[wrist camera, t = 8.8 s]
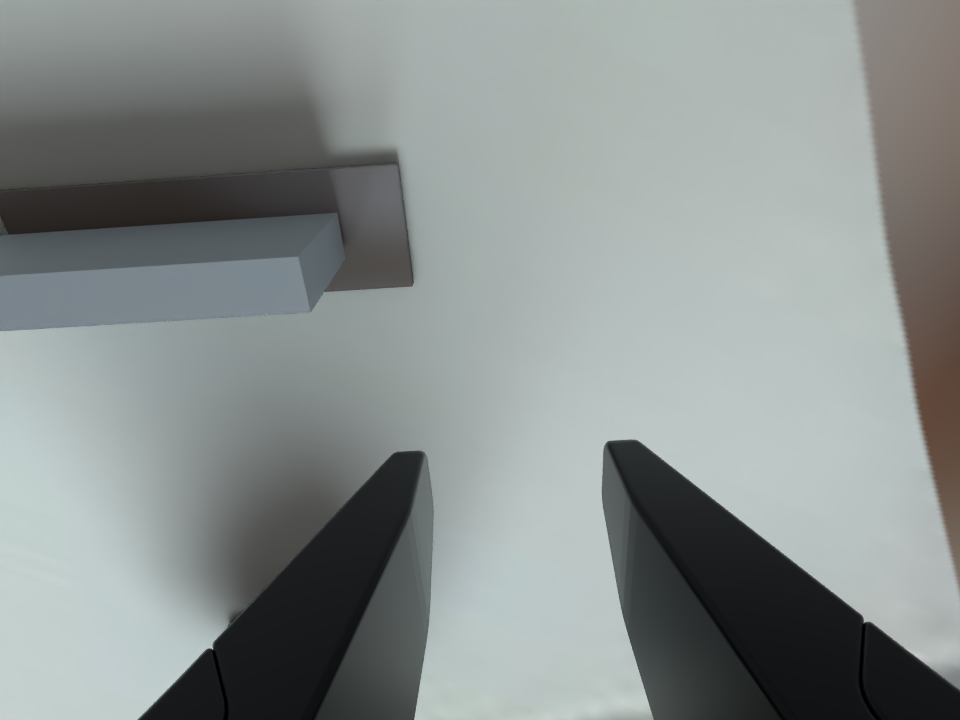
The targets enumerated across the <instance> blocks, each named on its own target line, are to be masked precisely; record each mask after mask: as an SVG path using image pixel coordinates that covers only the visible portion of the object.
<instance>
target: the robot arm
mask: <svg viewBox="0 0 960 720" xmlns="http://www.w3.org/2000/svg"><path fill="white" fill-rule="evenodd" d="M602 502H603V509H604V515H605V520H606V526H607V532H608V537H609V543H610V549H611V554H612V560H613V566H614V572H615V577H616V583H617V589H618V594H619V599H620V604H621V609H622V614H623V618H624V621H625V625H626V629H627V632H628V636H629V639H630V643H631V646H632V649H633V652H634V656H635V659H636V662H637V666H638V669H639V672H640V676H641V679H642V682H643V685H644V689H645V692H646V695H647V699H648V702H649V705H650V709H651V712H652V715H653V718H654V720H960V690H959V689H958V688H957V687H955V686H954V685H953V684H951V683H950V682H949V681H947V680H946V679H945V678H943V677H942V676H941V675H939V674H938V673H937V672H935V671H934V670H933V669H931V668H930V667H929V666H927V665H926V664H925V663H923V662H922V661H921V660H919V659H918V658H917V657H915V656H914V655H913V654H911V653H910V652H909V651H907V650H906V649H905V648H904V647H902V646H901V645H900V644H898V643H897V642H896V641H895V640H893V639H892V638H891V637H889V636H888V635H887V634H886V633H884V632H883V631H882V630H881V629H879V628H878V627H877V626H875V625H874V624H873V623H871V622H865V623H864V619H863V616H862V615H861V614H860V613H858V612H857V611H856V610H854V609H853V608H852V607H851V606H849V605H848V604H847V603H845V602H844V601H843V600H842V599H840V598H839V597H838V596H837V595H835V594H834V593H833V592H831V591H830V590H829V589H828V588H826V587H825V586H824V585H822V584H821V583H820V582H819V581H817V580H816V579H815V578H813V577H812V576H811V575H810V574H808V573H807V572H806V571H805V570H803V569H802V568H801V567H799V566H798V565H797V564H796V563H794V562H793V561H792V560H790V559H789V558H788V557H787V556H785V555H784V554H783V553H781V552H780V551H779V550H778V549H776V548H775V547H774V546H772V545H771V544H770V543H769V542H767V541H766V540H765V539H764V538H762V537H761V536H760V535H758V534H757V533H756V532H755V531H753V530H752V529H751V528H749V527H748V526H747V525H746V524H744V523H743V522H742V521H740V520H739V519H738V518H737V517H735V516H734V515H733V514H731V513H730V512H729V511H728V510H726V509H725V508H724V507H723V506H721V505H720V504H719V503H717V502H716V501H715V500H714V499H712V498H711V497H710V496H708V495H707V494H706V493H705V492H703V491H702V490H701V489H699V488H698V487H697V486H696V485H694V484H693V483H692V482H691V481H689V480H688V479H687V478H685V477H684V476H683V475H682V474H680V473H679V472H678V471H676V470H675V469H674V468H673V467H671V466H670V465H669V464H667V463H666V462H665V461H664V460H662V459H661V458H660V457H658V456H657V455H656V454H655V453H653V452H652V451H651V450H650V449H648V448H647V447H646V446H644V445H643V444H642V443H641V442H639V441H637V440H615V441H608V442H607V443H606V444H605V446H604V452H603V476H602ZM432 542H433V497H432V490H431V482H430V475H429V468H428V461H427V456H426V454H425V453H424V452H423V451H403V452H395V453H394V454H392V455H391V456H390V457H389V458H388V459H387V460H386V461H385V463H384V464H383V465H382V466H381V467H380V468H379V469H378V470H377V471H376V472H375V473H374V474H373V475H372V476H371V477H370V478H369V479H368V480H367V481H366V482H365V484H364V485H363V486H362V487H361V488H360V489H359V490H358V491H357V492H356V493H355V494H354V495H353V496H352V497H351V498H350V499H349V500H348V501H347V502H346V503H345V505H344V506H343V507H342V508H341V509H340V510H339V511H338V512H337V513H336V514H335V515H334V516H333V517H332V518H331V519H330V520H329V521H328V522H327V523H326V525H325V526H324V527H323V528H322V529H321V530H320V531H319V532H318V533H317V534H316V535H315V536H314V537H313V538H312V539H311V540H310V541H309V542H308V543H307V544H306V546H305V547H304V548H303V549H302V550H301V551H300V552H299V553H298V554H297V555H296V556H295V557H294V558H293V559H292V560H291V561H290V562H289V563H288V564H287V565H286V567H285V568H284V569H283V570H282V571H281V572H280V573H279V574H278V575H277V576H276V577H275V578H274V579H273V580H272V581H271V582H270V583H269V584H268V585H267V586H266V588H265V589H264V590H263V591H262V592H261V593H260V594H259V595H258V596H257V597H256V598H255V599H254V600H253V601H252V602H251V603H250V604H249V605H248V606H247V608H246V609H245V610H244V611H243V612H242V613H241V614H240V615H239V616H238V617H237V618H236V619H235V620H234V621H233V622H232V623H231V624H229V625H228V627H227V629H226V630H225V631H224V632H223V633H222V634H221V635H220V636H219V637H218V638H217V639H216V640H215V641H214V642H213V649H206V650H205V651H204V652H203V653H202V654H201V655H200V656H199V658H198V659H197V660H196V661H195V662H194V663H193V664H192V665H191V666H190V667H189V668H188V669H187V670H186V671H185V672H184V673H183V674H182V675H181V676H180V677H179V679H178V680H177V681H176V682H175V683H174V684H173V685H172V686H171V687H170V688H169V689H168V690H167V691H166V692H165V693H164V694H163V695H162V696H161V697H160V698H159V699H158V700H157V701H156V702H155V703H154V704H153V705H152V706H151V707H150V708H149V709H148V710H147V711H146V712H145V713H144V714H143V715H142V716H141V717H140V718H139V719H138V720H414V717H415V711H416V704H417V698H418V692H419V685H420V679H421V673H422V667H423V660H424V654H425V648H426V641H427V633H428V626H429V614H430V596H431V569H432ZM213 650H214V651H213Z"/></svg>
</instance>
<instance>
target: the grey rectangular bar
mask: <svg viewBox="0 0 960 720" xmlns="http://www.w3.org/2000/svg"><path fill="white" fill-rule="evenodd" d="M325 213H337V214H338V219H339V225H340V230H341V236H342V241H343V247H344V252H345V258H346V259H345V260H344V262H343V263H342V265H341V266H340V268H339V269H338V271H337V273H336V274H335V276H334V277H333V279H332V280H331V282H330V283H329V285H328V286H327V288H326V289H325V291H324V292H329V291H345V290H361V289H377V288H393V287H409V286H413V283H414V281H413V273H412V265H411V258H410V250H409V242H408V234H407V226H406V219H405V211H404V203H403V195H402V187H401V179H400V172H399V164H398V163H386V164H371V165H357V166H343V167H329V168H314V169H300V170H286V171H271V172H257V173H243V174H228V175H214V176H200V177H186V178H171V179H157V180H143V181H128V182H114V183H100V184H85V185H71V186H57V187H43V188H28V189H14V190H0V216H1V218H2V221H3V223H4V225H5V227H6V229H7V232H8V234H9V235H12V234H27V233H42V232H57V231H72V230H87V229H102V228H117V227H132V226H146V225H161V224H176V223H191V222H206V221H221V220H236V219H251V218H266V217H281V216H295V215H310V214H325Z"/></svg>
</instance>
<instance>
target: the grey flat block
mask: <svg viewBox="0 0 960 720" xmlns="http://www.w3.org/2000/svg"><path fill="white" fill-rule="evenodd" d="M345 259H346V258H345V252H344V247H343V241H342V236H341V230H340V225H339V219H338V214H337V213H325V214H310V215H295V216H281V217H266V218H251V219H236V220H221V221H206V222H191V223H176V224H161V225H146V226H132V227H117V228H102V229H87V230H72V231H57V232H42V233H27V234H12V235H0V331H11V330H28V329H44V328H60V327H77V326H93V325H109V324H126V323H142V322H159V321H175V320H191V319H208V318H224V317H240V316H257V315H273V314H289V313H306V312H311V311H312V309H313V308H314V306H315V305H316V303H317V302H318V300H319V299H320V297H321V296H322V294H323V292H324V291H325V289H326V288H327V286H328V285H329V283H330V282H331V280H332V279H333V277H334V276H335V274H336V273H337V271H338V269H339V268H340V266H341V265H342V263H343V262H344V260H345Z"/></svg>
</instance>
